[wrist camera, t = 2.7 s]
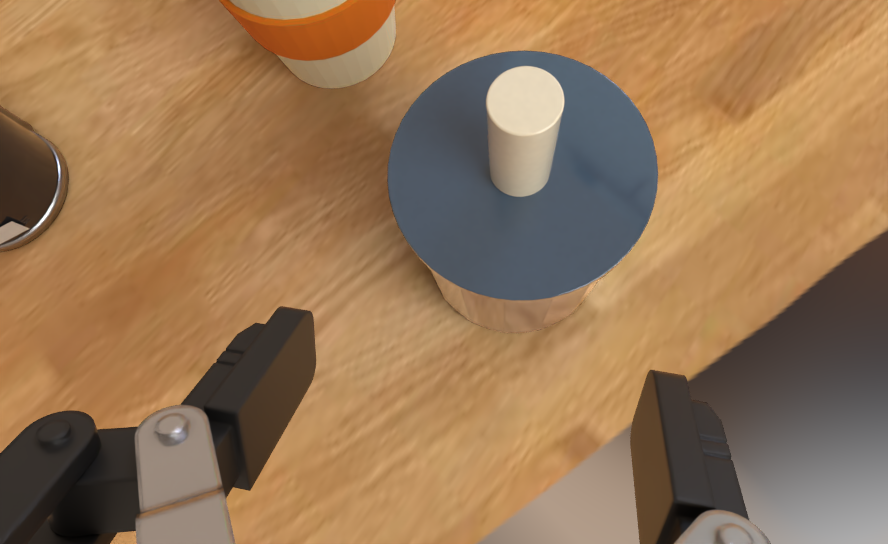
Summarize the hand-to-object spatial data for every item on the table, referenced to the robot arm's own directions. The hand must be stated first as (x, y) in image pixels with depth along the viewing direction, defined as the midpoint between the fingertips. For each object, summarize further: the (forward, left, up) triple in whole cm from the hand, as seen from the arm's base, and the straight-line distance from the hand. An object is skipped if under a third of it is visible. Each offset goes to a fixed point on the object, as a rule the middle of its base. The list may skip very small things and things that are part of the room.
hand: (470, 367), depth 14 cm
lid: (-8, +6, -12) cm, 15 cm away
